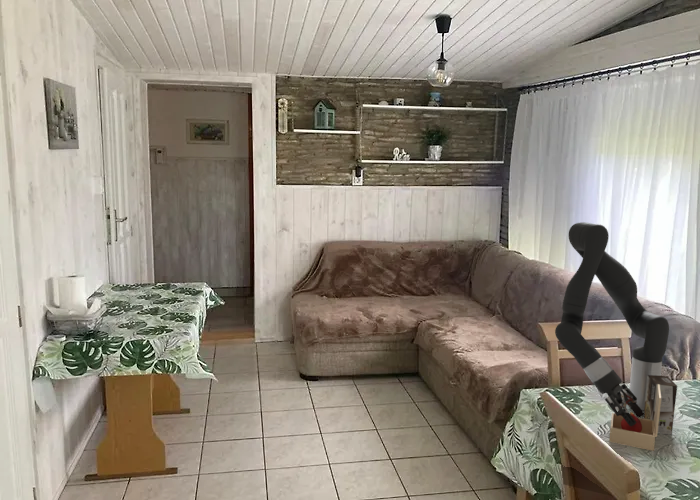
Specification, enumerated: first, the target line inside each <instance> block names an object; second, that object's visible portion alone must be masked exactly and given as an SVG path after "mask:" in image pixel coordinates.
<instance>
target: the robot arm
mask: <svg viewBox="0 0 700 500" xmlns="http://www.w3.org/2000/svg"><path fill="white" fill-rule="evenodd" d="M568 239H569V240H568V241H569V242H570V245H571V247H572V248H573V250H575V251H576V252H577V254H578V255H579V256H580V257H581V258H582V261H581V263H580V265H579V267H578V269H577V270H576V271H575V273H574V274H573V275H572V277H571V279H570V280H569V282H568V284H567V286H566V288H565V293H564V295H563V300H562V301H563V302H562V307H561V309H562V315H561V319H560V323H559V324H558V325H556V326H555V329H554V333H555V337H556V339H557V340H558V342H559V343H560V344H561V345H562V346H563V348H565V349H566V350H567V352H568V353H569V354H570V355H571V356H572V357H573V358H574V359H575V360H576V362H577V363H578V365H579V366H580V367H581V369H583V371H584V372H585V375H586V376H587V377H588V378H589V380H590V382H591V383H592V384H593V386H594V387H595V388H596V390H598V392H599V393H600V394H601V395H604V394H607V397H605V398H604V400H605V402H606V403H607V405H608V406H609V408H611V410H612V411H613V413H615V414H616V415H617V416H619V415H620V416H622V417H623V418H624V419H625V421H626V422H627V423H628V424H629V426H633V425H635V424H636V421H635V420H634V418H633V417H632V416H631V414H630V412H629V411H628V408H627V406H628V407H630V409H631V412H632V413H633V414H634V415H635V416H636V417H638V418H641V417H644V407H645V395H646V385H647V375H657V376H662V366H663V358H664V355H665V353H666V350H667V348H668V347H667V345H668V339H669V335H670V324H669V320H667V318H665V317H664V316H662V315H660V314H656V313H654V312H650V311H648V310H646V308H645V307H644V306H643V305H642V303H641V302H640V301H639V299H638V285H637V283H636V281H635V279H634V278H633V276H632V275H631V273H630V272H629V271H628V269H627V268H626V267H625V266H624V265H623V264H622V263H620V261H618V260H617V259H616V258H614V257H613V256H611V255H610V254H609V253H608V252H607V251H606V249H607V247H608V242H609V231H608V229H607V227H605V225H603V224H599V223H594V222H593V223H591V222H584V221H583V222H576V223H574V224H573V225H571V227H570V228H569V230H568ZM595 276H596V278H597V279H598V281H599V282H600V283H601V285H602V287H603V288H604V290H605V291H606V292H607V294H608V295H609V297H610V298H611V299H612V301H613V302H614V304H615V305H616V306H617V308H618V309H619V311H620V312H621V314H622V315H623V317H624V319H625V321H626V322H627V323H626V324H627V325H628V327H629V330H631V332H632V333H633V334H634V335H636V336H638V337H640V338H642V339H644V342H643V346H637V347H635V348H633V351H632V358H631V369H630V379H629V386H627V385H626V384H625V383H623V384H622V382H623V381H622V378H621V377H620V376H619V375H618V373H617V372H616V371H615V370H614V368H612V366H611V365H610V364H609V362H608V361H607V360H606V359H605V358H604V357H603V356H602V354H600V352H599V351H598V350H597V349H596V348H595V346H594V345H593V344H592V343H590V342H588V341H587V339H585V337H584V336H583V335H582V332H583V331H582V330H583V325H584V316H585V315H584V314H585V311H586V307H587V303H588V298H589V295H590V290H591V287H592V283H593V281H594V278H595Z"/></svg>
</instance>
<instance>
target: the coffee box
mask: <svg viewBox="0 0 700 500" xmlns="http://www.w3.org/2000/svg"><path fill="white" fill-rule="evenodd" d="M658 384H660V392H661V405H660V415H659V424H658V434H660V435H661V434H662V435H668V436H671V435H672V434H673V429H674V428H673V426H674V418H675V417H674V416H675V407H676V403H677V402H676V401H677V400H676V399H677V394H678V393H677V391H678V385H677V384H676V383H675V382H674V381H673V380H672V379H671V378H670V377H669V376H667V375H661V376H657V375H647V385H646V395H645V407H644V410H643V412H644V415H643V418H642V419H648V420H653V421H654V415H655V405H656V396H657V386H658Z"/></svg>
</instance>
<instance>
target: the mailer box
mask: <svg viewBox="0 0 700 500" xmlns="http://www.w3.org/2000/svg"><path fill="white" fill-rule="evenodd" d="M660 405H661V392H660V384H658V386H657V396H656V405H655V415H654V421H653V420H648V419H643V418H641V417H638V419H639V420H640V421H641V424H642V431H641V432H640V433H638V432H633V431H628V430H623V429H622V428H621V421H622V420H623V417H622V416H620V415H619V416H617V415H616V414H615V413H614V412H611V419H610V431H609V443H612V444H613V443H614V444H618V445H624V446H628V447H633V448H638V449H643V450H647V451H651V452H653V451H655V444H656V438H657V437H658V434H659V433H658V424H659V415H660Z"/></svg>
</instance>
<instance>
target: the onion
mask: <svg viewBox="0 0 700 500" xmlns="http://www.w3.org/2000/svg"><path fill="white" fill-rule="evenodd" d="M629 413H630V414H631V416H632V417H633V418H634V420H635V421H636V424H635V425H633V426H629V424H628V423H627V422H626V421H625V419H624V418H623V420H622V421H621V428H622V429H623V430H628V431H633V432H638V433H640V432H641V431H642V424H641V421H640V420H639V419H638V418H639V417H637V416H636V414H635V413H634V412H633V411H631V412H629Z"/></svg>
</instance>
